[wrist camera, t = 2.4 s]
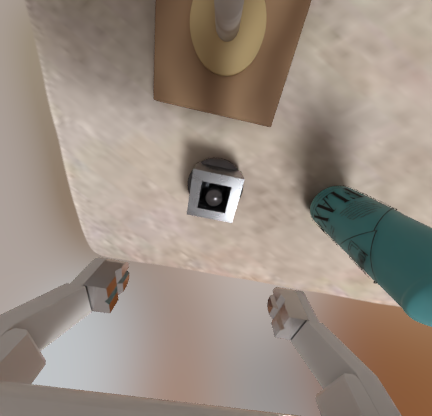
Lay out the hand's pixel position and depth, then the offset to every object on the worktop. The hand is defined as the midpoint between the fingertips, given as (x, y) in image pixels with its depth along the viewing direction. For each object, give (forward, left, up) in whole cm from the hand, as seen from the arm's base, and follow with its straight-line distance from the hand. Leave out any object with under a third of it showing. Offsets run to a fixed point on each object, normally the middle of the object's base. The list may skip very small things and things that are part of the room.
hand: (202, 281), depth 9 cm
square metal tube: (0, 0, -16) cm, 16 cm away
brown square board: (+2, -16, -17) cm, 23 cm away
